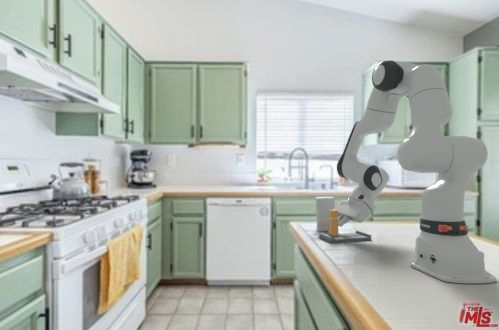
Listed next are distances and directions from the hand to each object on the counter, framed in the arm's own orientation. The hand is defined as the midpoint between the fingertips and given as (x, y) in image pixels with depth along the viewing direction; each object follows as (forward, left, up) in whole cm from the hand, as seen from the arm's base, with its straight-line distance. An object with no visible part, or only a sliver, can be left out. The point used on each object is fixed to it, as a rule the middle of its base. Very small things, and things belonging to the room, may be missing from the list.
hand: (338, 225), depth 143 cm
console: (+1, -3, -6) cm, 7 cm away
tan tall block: (-1, +2, -4) cm, 5 cm away
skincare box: (+20, +1, -6) cm, 21 cm away
